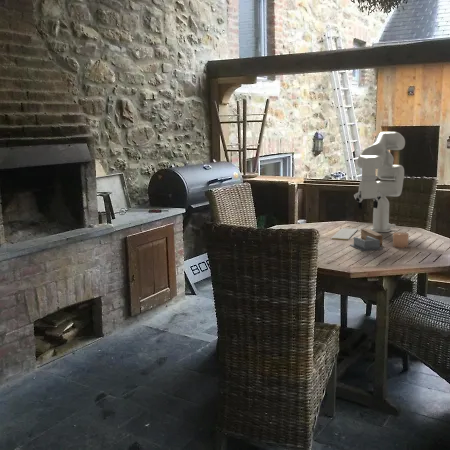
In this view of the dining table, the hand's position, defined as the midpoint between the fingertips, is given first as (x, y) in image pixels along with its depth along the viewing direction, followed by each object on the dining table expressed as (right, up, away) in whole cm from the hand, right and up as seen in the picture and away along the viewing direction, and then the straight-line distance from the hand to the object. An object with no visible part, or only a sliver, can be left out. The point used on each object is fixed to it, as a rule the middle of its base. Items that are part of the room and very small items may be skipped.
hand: (367, 208), depth 297 cm
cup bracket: (-5, -22, -13) cm, 25 cm away
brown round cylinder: (+15, -21, -12) cm, 28 cm away
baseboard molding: (-9, -16, +22) cm, 29 cm away
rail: (+2, -19, 0) cm, 19 cm away
